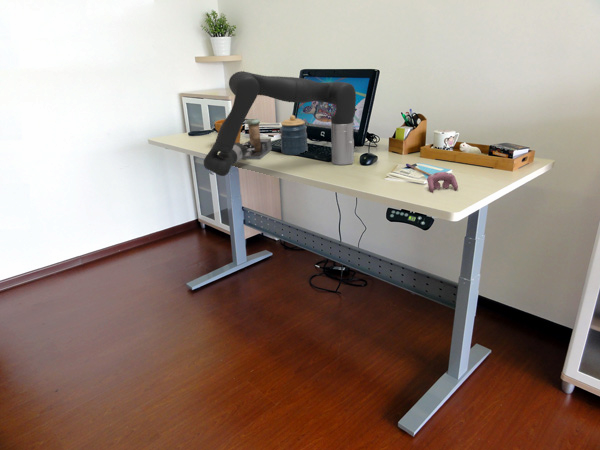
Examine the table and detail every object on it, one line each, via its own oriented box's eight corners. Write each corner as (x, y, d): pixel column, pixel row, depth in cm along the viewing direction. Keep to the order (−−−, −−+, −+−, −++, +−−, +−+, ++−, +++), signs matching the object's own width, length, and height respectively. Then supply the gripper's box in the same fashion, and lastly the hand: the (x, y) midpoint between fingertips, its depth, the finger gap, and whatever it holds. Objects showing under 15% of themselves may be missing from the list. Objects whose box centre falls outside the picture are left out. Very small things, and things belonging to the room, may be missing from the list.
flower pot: (247, 142, 226) (244, 118, 220) (241, 148, 213) (238, 123, 208) (222, 143, 227) (218, 119, 222) (214, 149, 215) (211, 124, 209)
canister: (313, 151, 201) (312, 114, 194) (295, 157, 193) (292, 118, 186) (294, 147, 210) (292, 112, 202) (275, 153, 201) (273, 116, 194)
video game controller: (454, 191, 146) (452, 172, 146) (459, 190, 141) (457, 169, 141) (426, 193, 145) (424, 173, 146) (430, 192, 141) (429, 171, 141)
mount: (271, 149, 208) (270, 138, 206) (260, 159, 192) (258, 147, 190) (253, 149, 210) (252, 138, 208) (240, 159, 195) (238, 147, 192)
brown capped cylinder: (263, 149, 202) (261, 118, 196) (259, 152, 197) (257, 121, 191) (252, 148, 204) (249, 118, 198) (248, 152, 199) (244, 121, 193)
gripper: (247, 145, 173) (261, 135, 188) (218, 144, 176) (234, 135, 191) (249, 162, 176) (262, 152, 191) (220, 161, 179) (236, 151, 194)
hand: (248, 143), depth 191 cm, fingers closed
